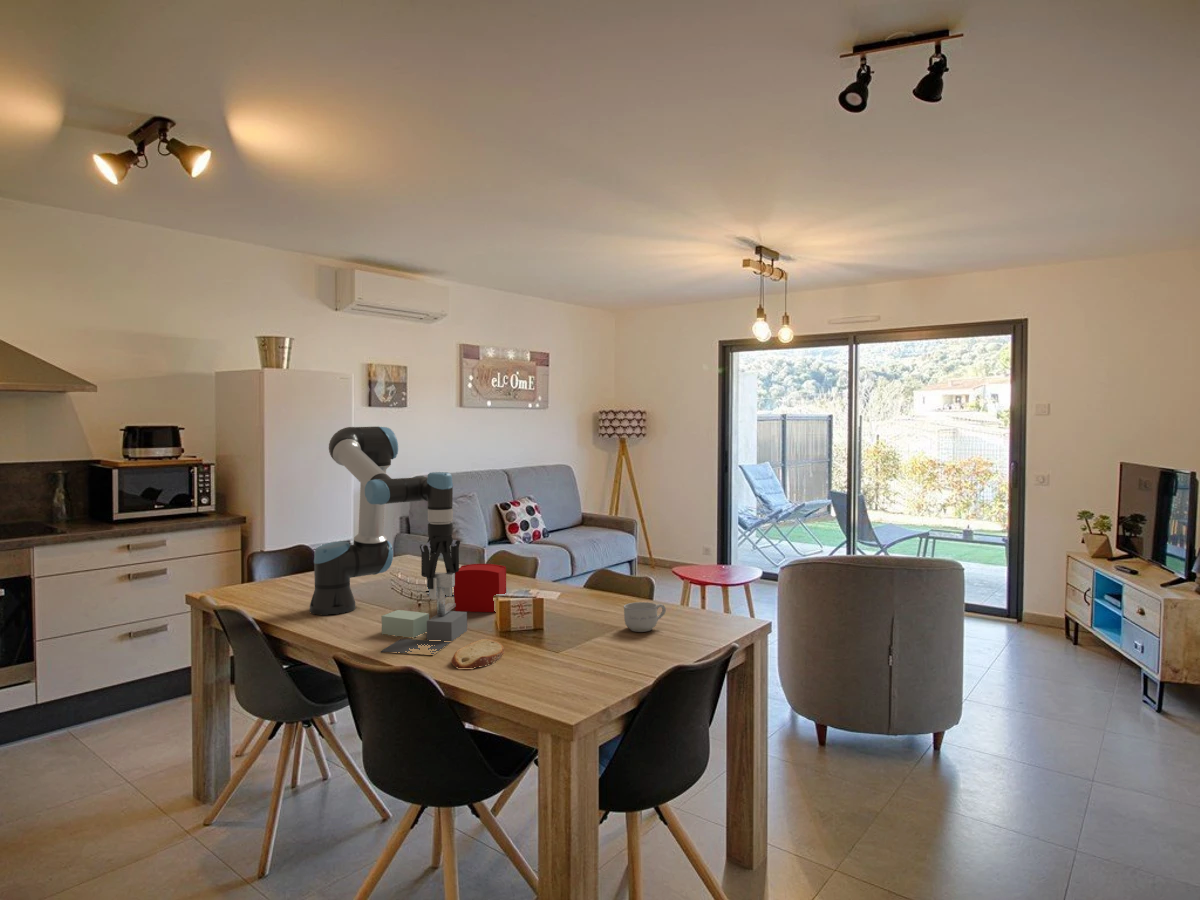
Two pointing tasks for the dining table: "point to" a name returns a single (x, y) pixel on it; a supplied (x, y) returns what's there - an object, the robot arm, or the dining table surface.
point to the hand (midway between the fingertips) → (440, 597)
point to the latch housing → (447, 626)
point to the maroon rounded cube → (478, 587)
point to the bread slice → (478, 654)
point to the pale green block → (404, 623)
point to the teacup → (642, 615)
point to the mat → (413, 645)
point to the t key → (443, 582)
